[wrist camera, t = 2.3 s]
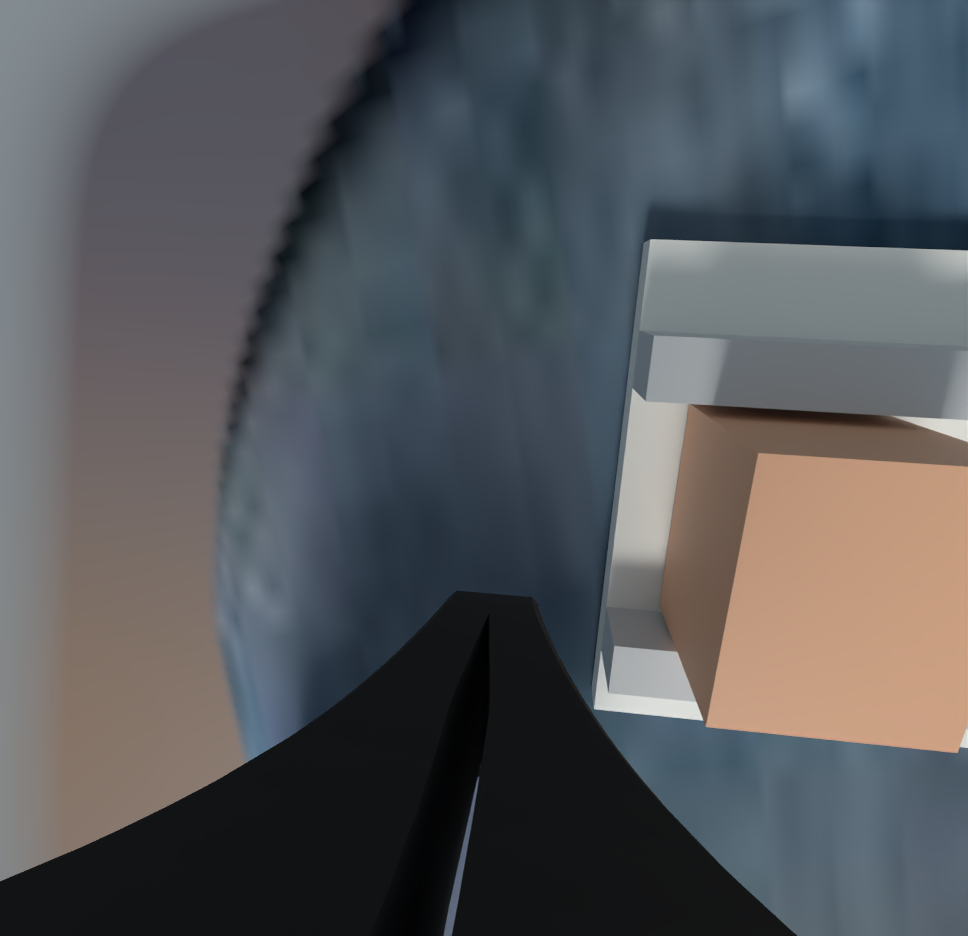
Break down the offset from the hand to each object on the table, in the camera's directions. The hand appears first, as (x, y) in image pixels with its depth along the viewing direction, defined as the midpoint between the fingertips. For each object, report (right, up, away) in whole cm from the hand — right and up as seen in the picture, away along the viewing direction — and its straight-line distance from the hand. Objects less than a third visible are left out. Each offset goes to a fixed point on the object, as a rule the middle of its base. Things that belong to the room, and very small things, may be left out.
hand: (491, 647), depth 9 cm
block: (+8, +2, +6) cm, 10 cm away
